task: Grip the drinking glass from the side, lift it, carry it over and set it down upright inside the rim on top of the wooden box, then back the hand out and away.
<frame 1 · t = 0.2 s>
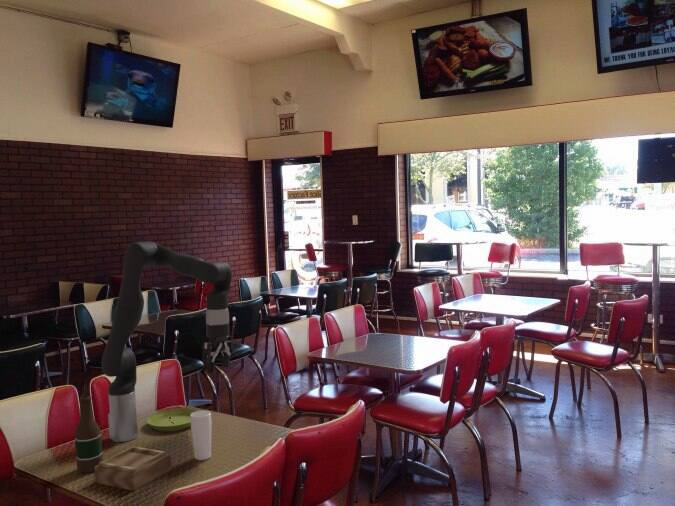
hand: (218, 370, 199), 29 cm above the table, tool pointing down, fingers open, 8 cm apart
saucer: (174, 425, 233), on the table
drinking glass: (203, 458, 199), on the table
wooden box: (134, 475, 187), on the table
beer bottle: (90, 469, 194), on the table
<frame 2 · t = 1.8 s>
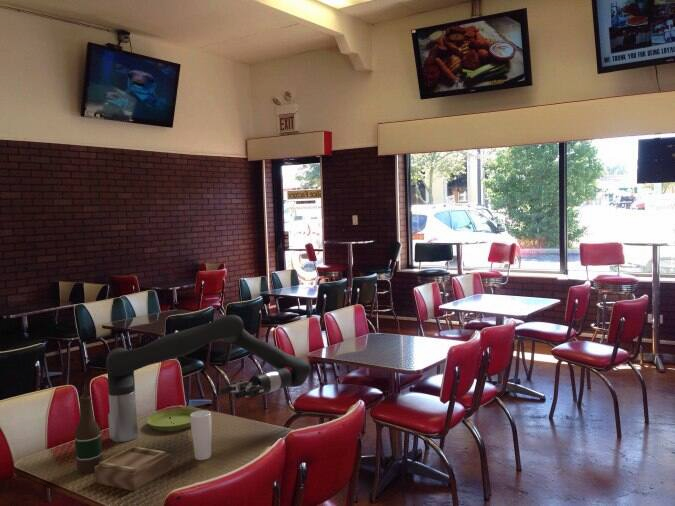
hand: (228, 393, 205), 19 cm above the table, tool horizontal, fingers open, 8 cm apart
nothing on the table moved.
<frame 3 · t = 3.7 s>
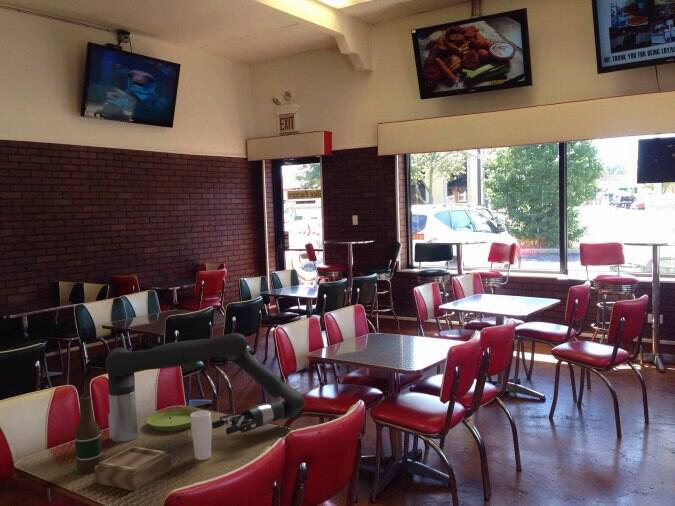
hand: (219, 428, 203), 8 cm above the table, tool horizontal, fingers open, 8 cm apart
nothing on the table moved.
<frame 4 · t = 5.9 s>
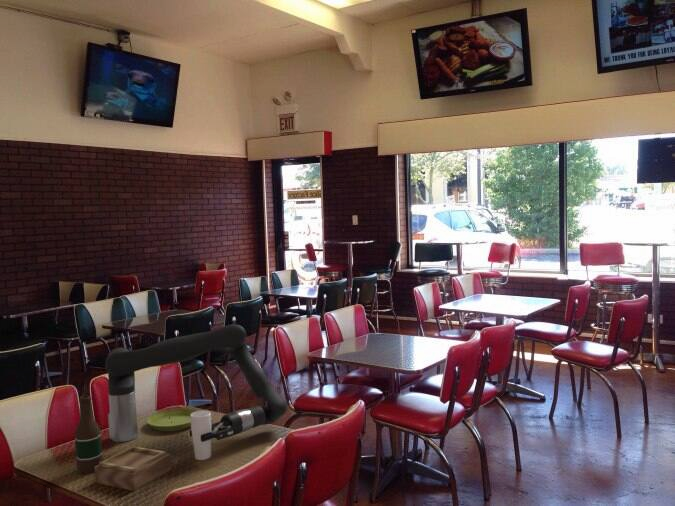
hand: (195, 436, 197), 8 cm above the table, tool horizontal, fingers closed on drinking glass, 6 cm apart
drinking glass: (203, 458, 199), on the table, touching gripper
everything else where it was.
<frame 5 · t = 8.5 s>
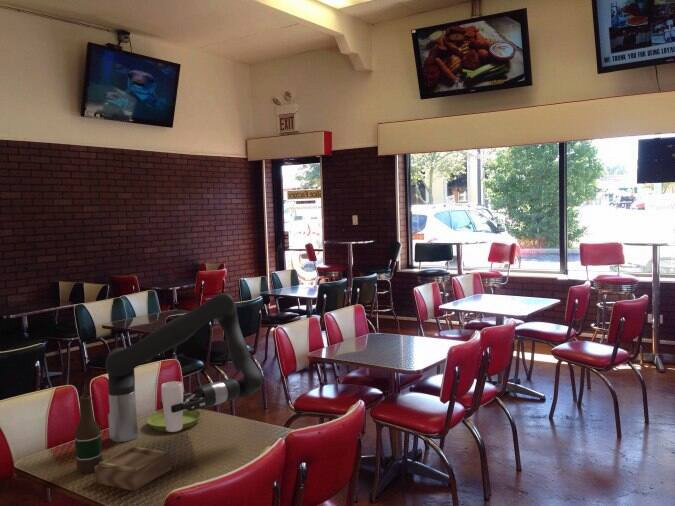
hand: (166, 407, 191), 20 cm above the table, tool horizontal, fingers closed on drinking glass, 6 cm apart
drinking glass: (174, 430, 193), point 11 cm above the table, touching gripper
everything else where it was.
when the fingers open (14 cm above the table, at t = 11.3 s): drinking glass drops 1 cm, resting on wooden box.
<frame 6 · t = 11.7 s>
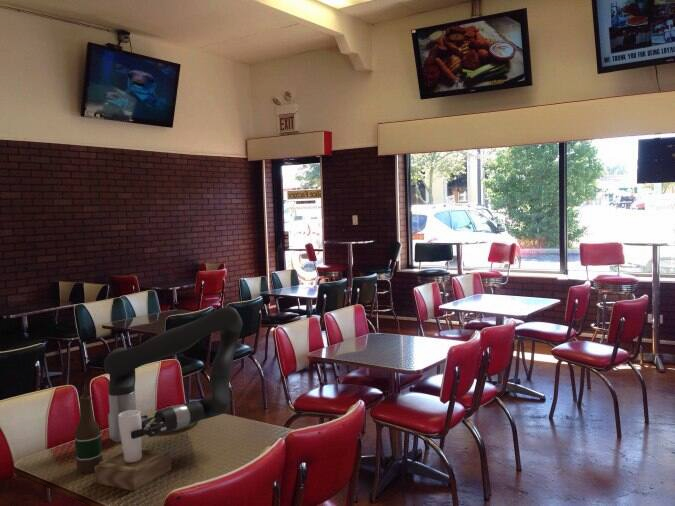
hand: (125, 432, 185), 15 cm above the table, tool horizontal, fingers open, 8 cm apart
drinking glass: (133, 460, 187), point 5 cm above the table, touching wooden box
everything else where it was.
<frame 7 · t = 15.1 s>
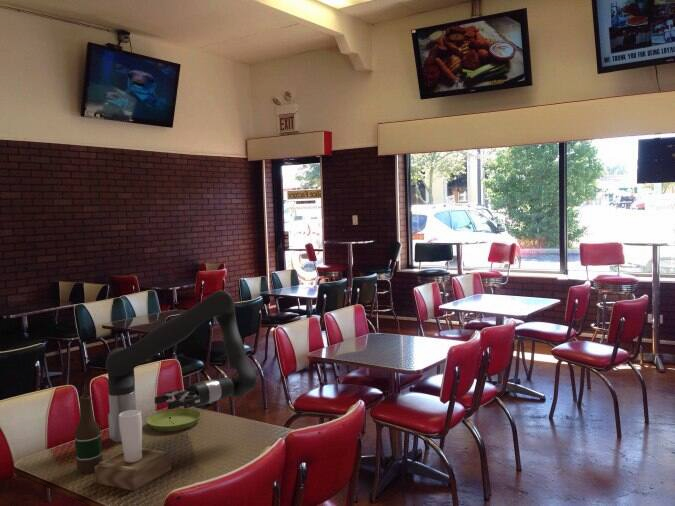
hand: (161, 403, 193), 20 cm above the table, tool horizontal, fingers open, 8 cm apart
nothing on the table moved.
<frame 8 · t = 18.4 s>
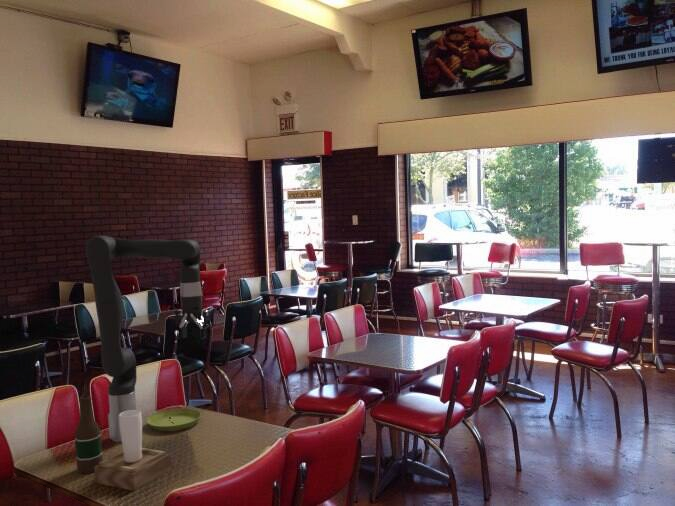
hand: (193, 338, 218), 36 cm above the table, tool pointing down, fingers open, 8 cm apart
nothing on the table moved.
at the end: drinking glass inside the target area on the wooden box (0.1 cm from its centre), point 4.8 cm above the wooden box's base; drinking glass tilted 0°; the gripper is holding nothing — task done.
